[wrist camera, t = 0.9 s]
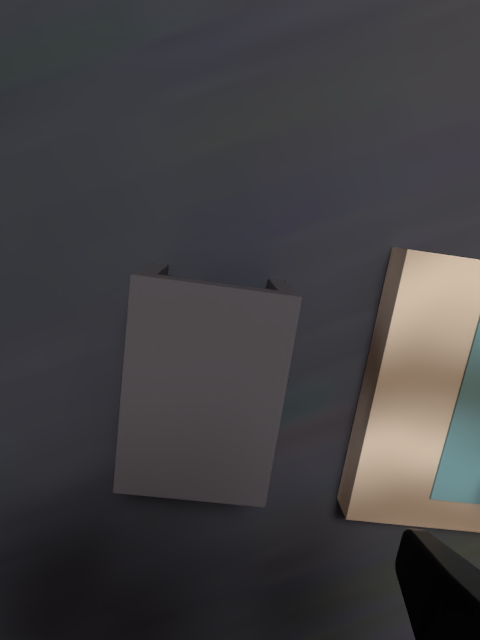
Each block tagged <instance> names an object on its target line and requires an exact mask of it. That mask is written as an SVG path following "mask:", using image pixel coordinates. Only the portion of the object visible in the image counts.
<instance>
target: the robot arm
mask: <svg viewBox="0 0 480 640" xmlns="http://www.w3.org/2000/svg"><path fill="white" fill-rule="evenodd" d="M395 568H396V574H397V578H398V581H399V585H400V588H401V591H402V595H403V598H404V602H405V605H406V609H407V612H408V615H409V619H410V622H411V626H412V629H413V633H414V636H415V639H416V640H480V570H479V569H478V568H476V567H475V566H474V565H472V564H471V563H470V562H468V561H467V560H465V559H464V558H463V557H461V556H460V555H459V554H457V553H456V552H455V551H453V550H452V549H450V548H449V547H448V546H446V545H445V544H444V543H442V542H441V541H440V540H438V539H437V538H435V537H434V536H433V535H431V534H430V533H429V532H427V531H425V530H421V529H410V528H408V529H406V530H405V531H404V532H403V534H402V538H401V542H400V546H399V549H398V553H397V557H396V562H395Z"/></svg>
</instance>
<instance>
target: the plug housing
mask: <svg viewBox="0 0 480 640" xmlns="http://www.w3.org/2000/svg"><path fill="white" fill-rule="evenodd" d="M167 274H168V265H164V264H157V263H150V264H148V265H146V266H145V267H143V268H141V269H139V270H137V271H136V272H134V273H132V274H131V276H130V288H129V301H128V313H127V325H126V337H125V350H124V362H123V374H122V387H121V399H120V411H119V423H118V436H117V448H116V460H115V473H114V485H113V493H119V494H129V495H140V496H150V497H161V498H171V499H181V500H192V501H202V502H213V503H223V504H233V505H244V506H254V507H265V506H266V500H267V494H268V489H269V483H270V477H271V472H272V466H273V460H274V455H275V449H276V443H277V438H278V432H279V426H280V421H281V415H282V409H283V404H284V398H285V392H286V387H287V381H288V375H289V370H290V364H291V358H292V353H293V347H294V341H295V336H296V330H297V324H298V319H299V313H300V307H301V302H302V296H301V295H299V294H298V293H297V292H296V291H295V290H294V289H293V288H292V287H291V286H290V285H289V284H288V283H287V282H286V281H282V280H275V279H268V286H267V289H263V288H256V287H248V286H241V285H233V284H226V283H218V282H211V281H203V280H196V279H188V278H181V277H174V276H167Z"/></svg>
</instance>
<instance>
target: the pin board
mask: <svg viewBox="0 0 480 640" xmlns="http://www.w3.org/2000/svg"><path fill="white" fill-rule="evenodd" d="M337 499H338V502H339V504H340V506H341V509H342V511H343V514H344V516H345V518H346V520H355V521H365V522H376V523H386V524H397V525H407V526H418V527H428V528H439V529H449V530H460V531H470V532H480V260H478V259H471V258H464V257H457V256H450V255H444V254H437V253H430V252H423V251H416V250H409V249H402V248H395V247H392V249H391V254H390V258H389V263H388V268H387V272H386V277H385V281H384V286H383V290H382V295H381V299H380V304H379V309H378V313H377V318H376V322H375V327H374V331H373V336H372V340H371V345H370V350H369V354H368V359H367V363H366V368H365V372H364V377H363V381H362V386H361V391H360V395H359V400H358V404H357V409H356V413H355V418H354V423H353V427H352V432H351V436H350V441H349V445H348V450H347V454H346V459H345V464H344V468H343V473H342V477H341V482H340V486H339V491H338V495H337Z"/></svg>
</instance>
